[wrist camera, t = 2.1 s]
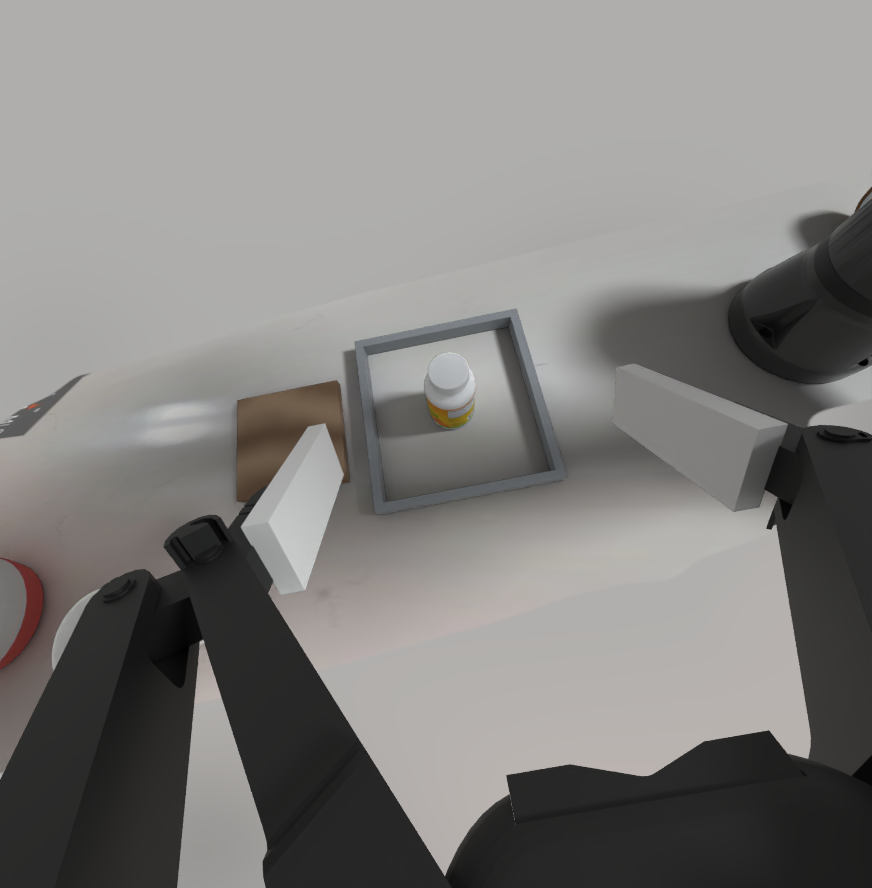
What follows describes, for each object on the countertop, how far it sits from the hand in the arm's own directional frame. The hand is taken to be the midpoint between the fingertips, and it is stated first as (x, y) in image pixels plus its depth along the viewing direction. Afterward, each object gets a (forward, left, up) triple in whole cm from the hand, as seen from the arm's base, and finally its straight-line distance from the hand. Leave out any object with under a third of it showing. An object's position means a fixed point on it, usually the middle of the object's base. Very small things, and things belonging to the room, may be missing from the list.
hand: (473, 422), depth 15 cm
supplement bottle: (+6, -9, -24) cm, 26 cm away
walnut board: (+22, +3, -23) cm, 33 cm away
